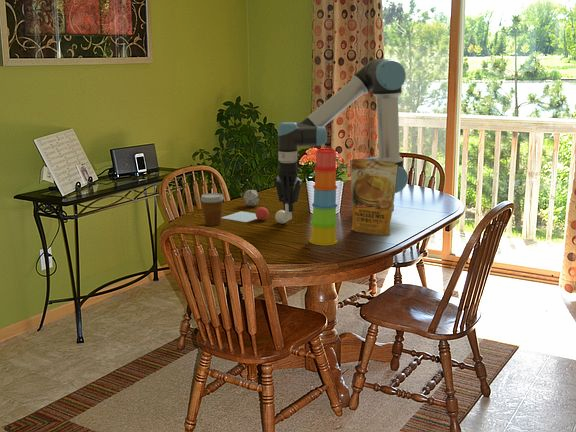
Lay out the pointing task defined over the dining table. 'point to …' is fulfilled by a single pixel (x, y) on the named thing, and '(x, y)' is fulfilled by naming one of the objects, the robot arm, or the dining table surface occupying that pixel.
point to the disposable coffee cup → (212, 208)
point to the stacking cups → (324, 199)
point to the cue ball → (280, 217)
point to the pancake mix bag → (372, 195)
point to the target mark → (241, 216)
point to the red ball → (262, 213)
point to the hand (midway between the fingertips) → (288, 219)
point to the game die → (251, 197)
